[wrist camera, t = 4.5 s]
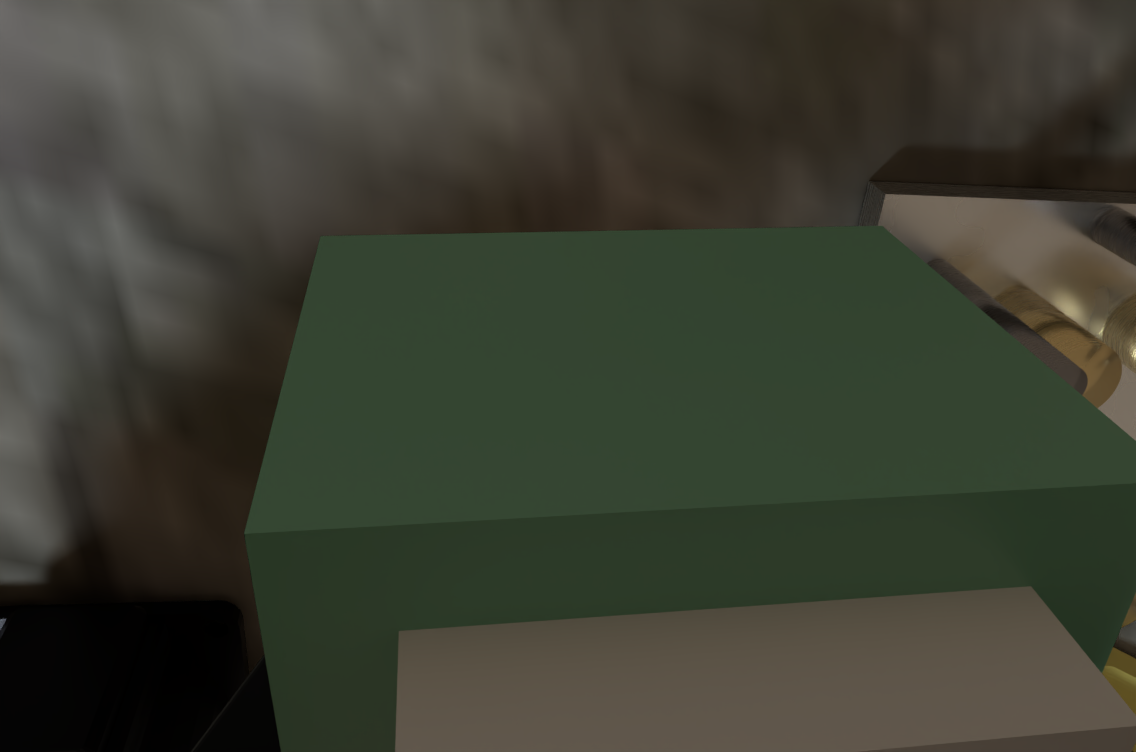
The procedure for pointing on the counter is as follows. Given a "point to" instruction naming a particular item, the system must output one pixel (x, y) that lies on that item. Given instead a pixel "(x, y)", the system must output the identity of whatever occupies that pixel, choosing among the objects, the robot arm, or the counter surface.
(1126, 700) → the plastic component
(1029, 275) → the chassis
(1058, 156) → the counter surface
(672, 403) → the green block
